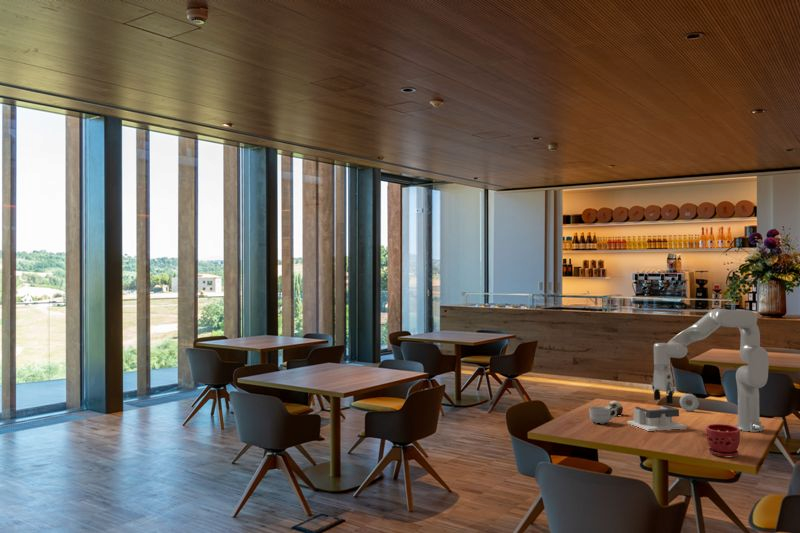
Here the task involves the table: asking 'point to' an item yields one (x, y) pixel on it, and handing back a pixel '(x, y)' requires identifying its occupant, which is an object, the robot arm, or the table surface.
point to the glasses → (660, 412)
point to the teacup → (601, 414)
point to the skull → (616, 406)
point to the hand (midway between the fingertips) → (663, 401)
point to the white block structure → (654, 422)
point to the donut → (693, 398)
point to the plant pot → (723, 439)
